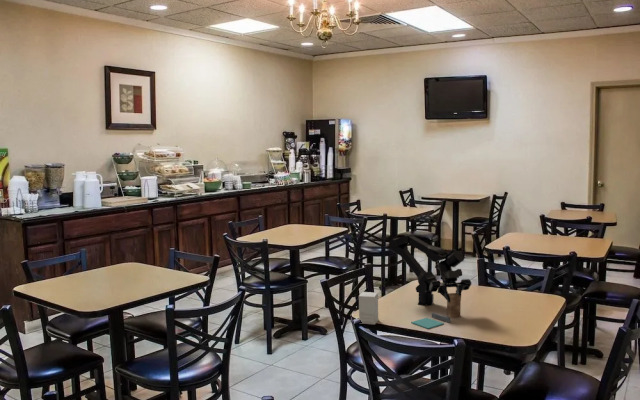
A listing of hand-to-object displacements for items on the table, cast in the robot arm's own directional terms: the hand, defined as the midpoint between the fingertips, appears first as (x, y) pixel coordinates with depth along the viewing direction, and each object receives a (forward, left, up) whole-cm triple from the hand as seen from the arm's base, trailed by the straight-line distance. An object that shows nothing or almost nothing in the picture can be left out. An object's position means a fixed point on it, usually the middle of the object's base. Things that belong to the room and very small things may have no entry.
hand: (454, 301), depth 245 cm
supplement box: (-35, -20, -7) cm, 41 cm away
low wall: (-5, -6, -7) cm, 11 cm away
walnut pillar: (-1, +1, -7) cm, 7 cm away
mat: (-10, -14, -7) cm, 18 cm away
